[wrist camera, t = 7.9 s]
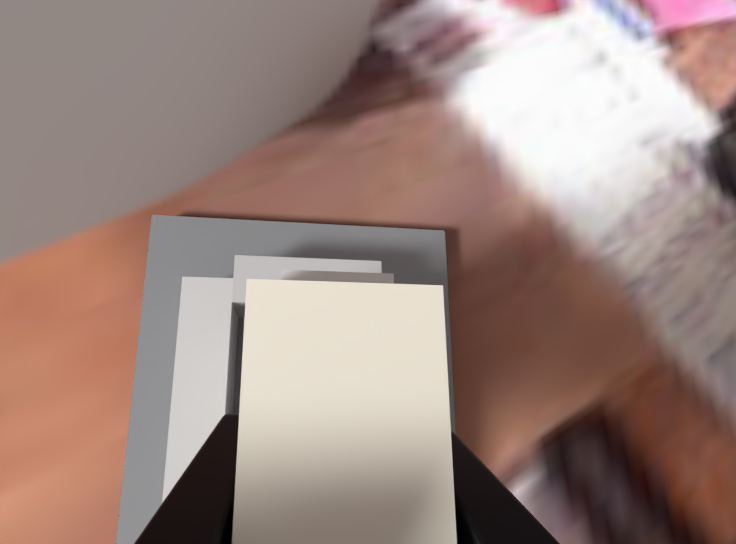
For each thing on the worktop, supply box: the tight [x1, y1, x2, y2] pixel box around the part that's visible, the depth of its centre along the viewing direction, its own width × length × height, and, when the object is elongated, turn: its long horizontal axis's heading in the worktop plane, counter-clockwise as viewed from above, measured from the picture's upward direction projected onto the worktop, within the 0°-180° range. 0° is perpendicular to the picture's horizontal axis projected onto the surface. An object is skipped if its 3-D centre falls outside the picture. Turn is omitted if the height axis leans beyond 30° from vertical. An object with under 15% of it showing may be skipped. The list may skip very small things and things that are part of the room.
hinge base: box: [116, 215, 456, 544], centre depth 17 cm, size 16×12×4 cm
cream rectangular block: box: [232, 269, 457, 544], centre depth 11 cm, size 6×3×9 cm, turn 1°
